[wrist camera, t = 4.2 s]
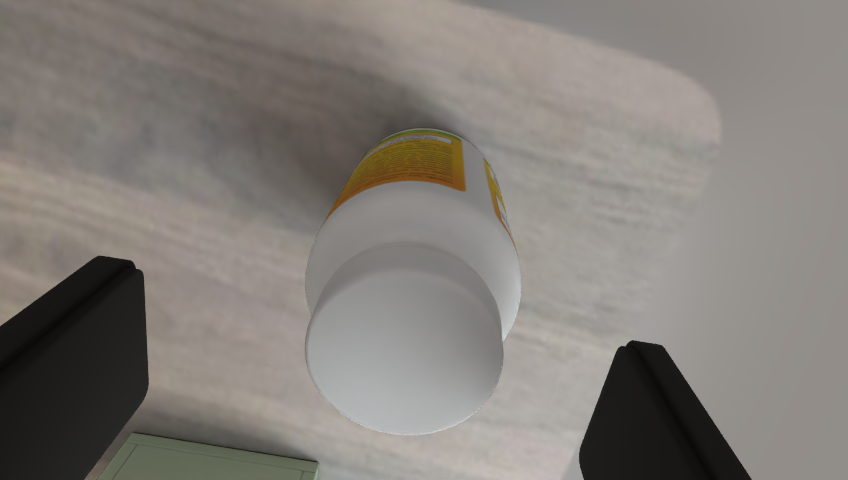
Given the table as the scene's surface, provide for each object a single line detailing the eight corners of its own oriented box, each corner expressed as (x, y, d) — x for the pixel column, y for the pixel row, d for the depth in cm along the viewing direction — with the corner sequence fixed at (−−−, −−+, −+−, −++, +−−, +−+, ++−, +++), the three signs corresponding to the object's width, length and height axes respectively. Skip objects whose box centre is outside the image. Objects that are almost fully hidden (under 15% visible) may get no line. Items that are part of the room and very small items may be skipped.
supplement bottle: (321, 208, 20) (216, 373, 11) (411, 92, 18) (373, 175, 9) (435, 291, 21) (424, 501, 12) (530, 189, 19) (600, 348, 10)
